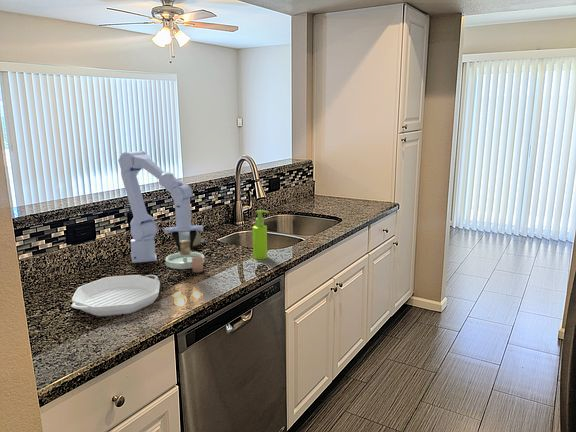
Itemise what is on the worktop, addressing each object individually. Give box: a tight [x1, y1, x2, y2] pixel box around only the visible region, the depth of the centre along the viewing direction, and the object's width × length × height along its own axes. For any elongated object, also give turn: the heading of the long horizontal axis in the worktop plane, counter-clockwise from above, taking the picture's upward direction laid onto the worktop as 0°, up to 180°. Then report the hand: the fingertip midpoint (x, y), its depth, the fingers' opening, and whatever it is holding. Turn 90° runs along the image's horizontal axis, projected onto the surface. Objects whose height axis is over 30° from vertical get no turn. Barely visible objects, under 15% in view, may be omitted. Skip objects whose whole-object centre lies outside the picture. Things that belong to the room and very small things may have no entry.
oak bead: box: [179, 240, 192, 255], centre depth 176 cm, size 4×4×5 cm
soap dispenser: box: [252, 209, 270, 260], centre depth 185 cm, size 6×7×20 cm
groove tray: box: [165, 251, 205, 270], centre depth 181 cm, size 15×15×2 cm
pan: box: [70, 274, 161, 317], centre depth 143 cm, size 31×25×4 cm
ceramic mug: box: [179, 231, 205, 247], centre depth 206 cm, size 11×8×8 cm
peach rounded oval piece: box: [191, 257, 204, 273], centre depth 171 cm, size 4×4×5 cm
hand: (185, 249), depth 176 cm, fingers closed on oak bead, 4 cm apart
